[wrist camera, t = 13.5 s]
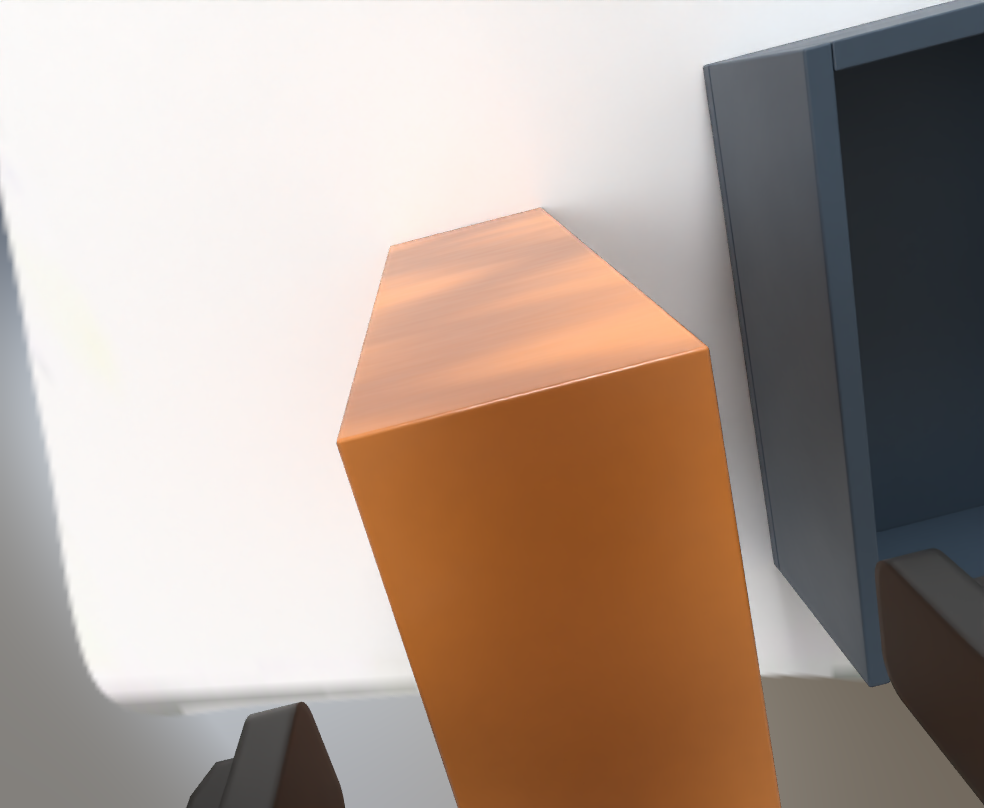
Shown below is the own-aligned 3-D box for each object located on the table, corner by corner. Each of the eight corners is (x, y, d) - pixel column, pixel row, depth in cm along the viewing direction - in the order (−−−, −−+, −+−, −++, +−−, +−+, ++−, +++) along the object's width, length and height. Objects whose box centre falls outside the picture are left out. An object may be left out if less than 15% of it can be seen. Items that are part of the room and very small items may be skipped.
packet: (541, 207, 24) (709, 345, 10) (601, 483, 27) (796, 897, 13) (389, 246, 24) (334, 440, 10) (466, 517, 27) (510, 967, 13)
